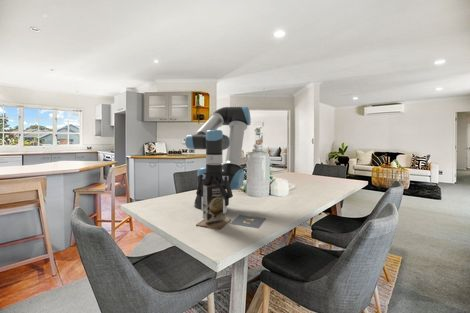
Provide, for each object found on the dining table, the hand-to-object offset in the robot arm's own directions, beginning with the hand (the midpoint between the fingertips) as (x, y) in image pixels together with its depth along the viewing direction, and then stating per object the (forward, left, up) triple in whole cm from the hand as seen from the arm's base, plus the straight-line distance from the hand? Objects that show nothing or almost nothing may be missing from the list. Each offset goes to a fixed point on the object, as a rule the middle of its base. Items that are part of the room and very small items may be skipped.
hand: (214, 211), depth 108 cm
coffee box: (0, 0, -4) cm, 4 cm away
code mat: (+14, +9, -6) cm, 18 cm away
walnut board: (0, 0, -6) cm, 6 cm away
